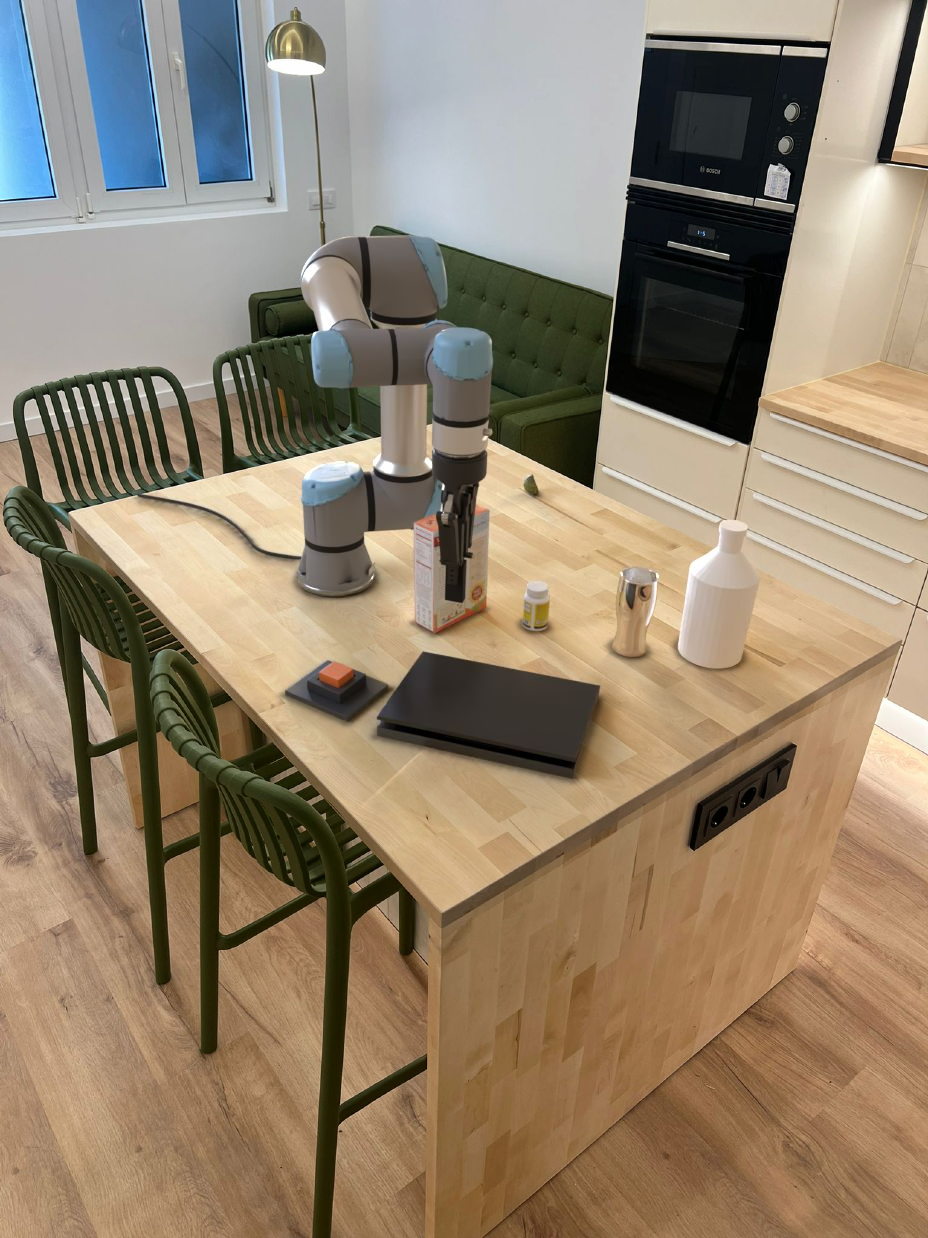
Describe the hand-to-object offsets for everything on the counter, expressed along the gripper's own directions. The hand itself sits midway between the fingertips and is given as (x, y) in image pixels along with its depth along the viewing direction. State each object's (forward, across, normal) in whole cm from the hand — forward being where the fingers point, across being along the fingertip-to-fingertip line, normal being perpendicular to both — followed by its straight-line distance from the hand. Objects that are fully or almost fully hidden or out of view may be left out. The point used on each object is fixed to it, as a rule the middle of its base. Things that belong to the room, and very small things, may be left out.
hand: (455, 599), depth 139 cm
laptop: (+22, +2, -6) cm, 23 cm away
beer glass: (+22, +30, -24) cm, 45 cm away
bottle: (+22, +34, -38) cm, 56 cm away
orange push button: (+22, 0, +20) cm, 30 cm away
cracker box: (+23, +30, +10) cm, 39 cm away
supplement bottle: (+23, +32, -6) cm, 40 cm away
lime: (+24, +92, +8) cm, 96 cm away
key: (+20, 0, +20) cm, 28 cm away
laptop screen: (+20, +2, -6) cm, 21 cm away
